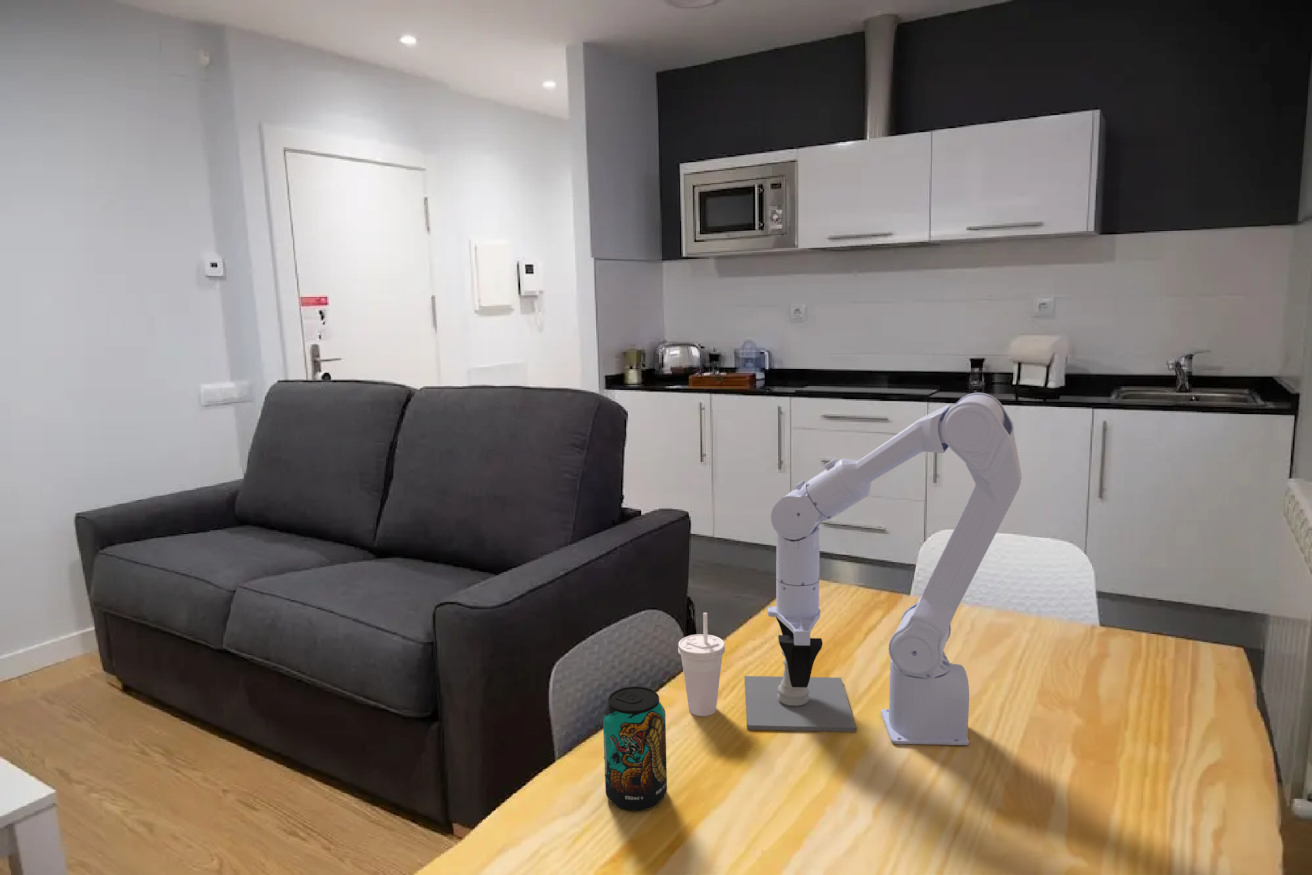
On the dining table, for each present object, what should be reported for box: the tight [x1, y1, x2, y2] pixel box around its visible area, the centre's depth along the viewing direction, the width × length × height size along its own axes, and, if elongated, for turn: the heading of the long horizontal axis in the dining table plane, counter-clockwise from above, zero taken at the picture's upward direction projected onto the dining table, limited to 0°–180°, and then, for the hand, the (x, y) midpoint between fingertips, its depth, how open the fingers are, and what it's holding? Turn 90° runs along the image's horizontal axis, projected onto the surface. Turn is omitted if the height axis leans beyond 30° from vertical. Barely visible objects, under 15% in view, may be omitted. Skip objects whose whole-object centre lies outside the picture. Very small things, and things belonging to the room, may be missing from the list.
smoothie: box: [677, 612, 726, 717], centre depth 112 cm, size 6×6×14 cm
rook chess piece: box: [777, 649, 810, 707], centre depth 114 cm, size 4×4×8 cm
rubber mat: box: [744, 675, 857, 733], centre depth 114 cm, size 14×14×1 cm
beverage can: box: [602, 686, 668, 812], centre depth 94 cm, size 7×7×12 cm
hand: (796, 673), depth 114 cm, fingers open, 7 cm apart
